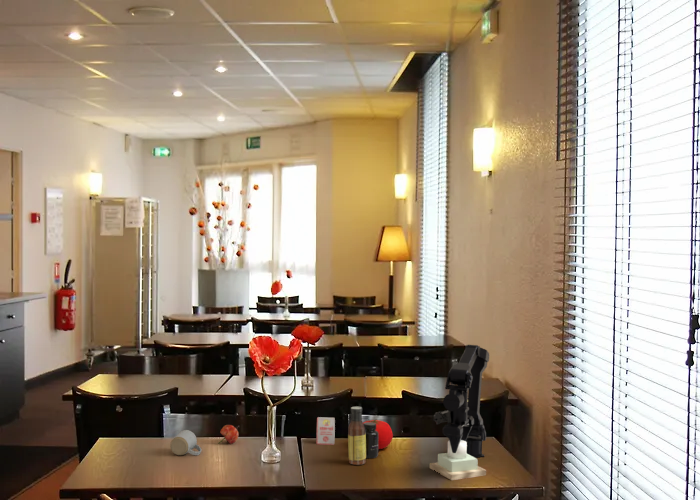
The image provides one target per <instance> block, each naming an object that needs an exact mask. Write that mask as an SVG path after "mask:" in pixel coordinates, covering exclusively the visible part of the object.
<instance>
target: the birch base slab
mask: <svg viewBox="0 0 700 500" xmlns="http://www.w3.org/2000/svg"><path fill="white" fill-rule="evenodd" d="M429 469H431V470H432V471H434V470H435V471H436V473H437V472H438V474H439V473H440V474H439V475H441V476H443V477H445V478H447V479H449V480H451V481H455V480H461V479H462V480H463V479H464V480H465V479H469V478H475V477H482V476H487V469H485V468H483V467H481V466H479V465H478V468H477V469H476V470H468V471H460V472H450V471H449V470H447V469H445V468H444V467H442V466H440V465H439V464H438V461H437V462H431V463H429ZM435 471H434V472H435Z"/></svg>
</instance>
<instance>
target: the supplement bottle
mask: <svg viewBox="0 0 700 500" xmlns="http://www.w3.org/2000/svg"><path fill="white" fill-rule="evenodd" d="M363 425H364V427H365V432H366V459H375V458H377V457H378V456H379V449H378V443H379V433H378V432H377V431H376V423H373V422H366V423H363Z"/></svg>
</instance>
